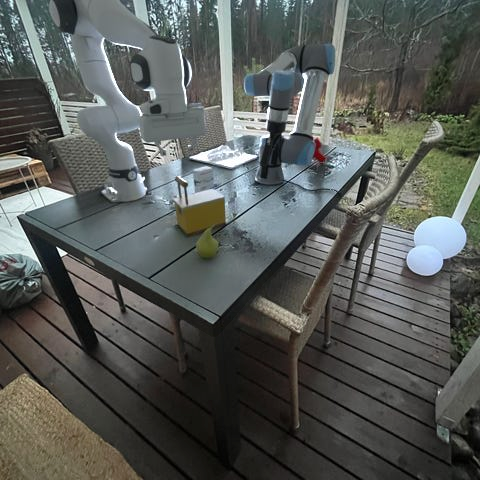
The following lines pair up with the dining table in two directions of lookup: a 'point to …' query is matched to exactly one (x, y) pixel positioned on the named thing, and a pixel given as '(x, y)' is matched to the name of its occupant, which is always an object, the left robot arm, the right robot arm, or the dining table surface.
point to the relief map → (224, 157)
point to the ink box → (203, 179)
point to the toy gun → (317, 153)
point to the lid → (194, 196)
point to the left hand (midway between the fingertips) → (177, 153)
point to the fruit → (207, 244)
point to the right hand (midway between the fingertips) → (268, 171)
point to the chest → (201, 217)
